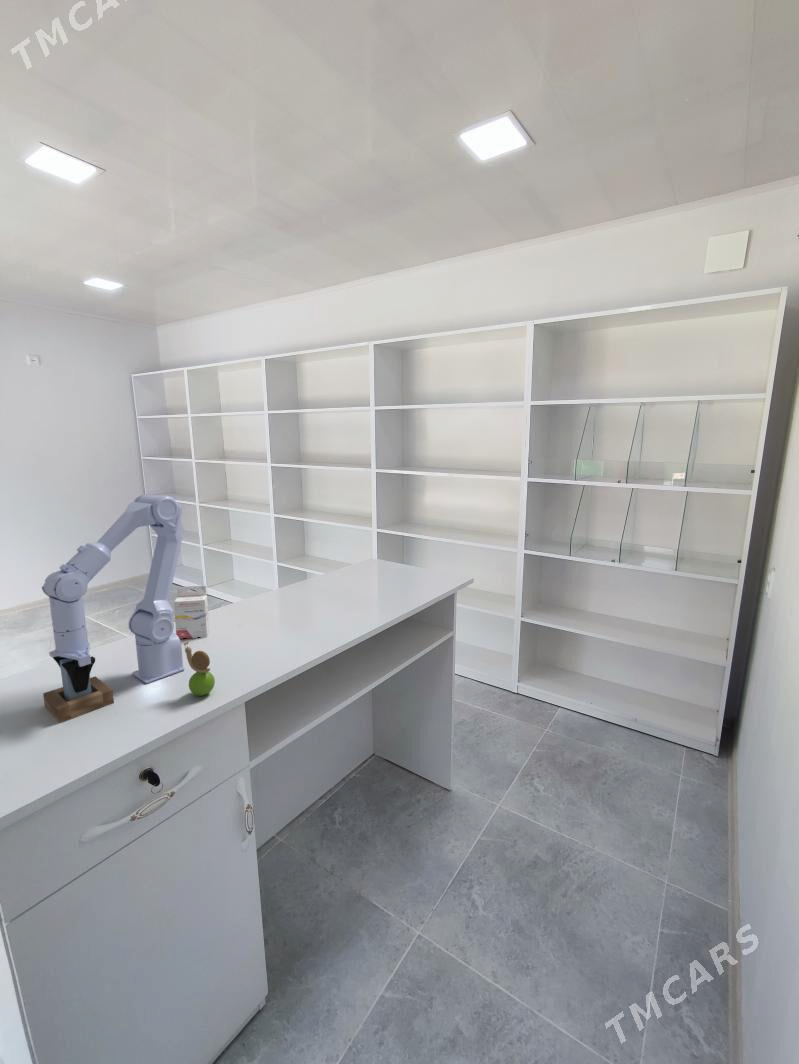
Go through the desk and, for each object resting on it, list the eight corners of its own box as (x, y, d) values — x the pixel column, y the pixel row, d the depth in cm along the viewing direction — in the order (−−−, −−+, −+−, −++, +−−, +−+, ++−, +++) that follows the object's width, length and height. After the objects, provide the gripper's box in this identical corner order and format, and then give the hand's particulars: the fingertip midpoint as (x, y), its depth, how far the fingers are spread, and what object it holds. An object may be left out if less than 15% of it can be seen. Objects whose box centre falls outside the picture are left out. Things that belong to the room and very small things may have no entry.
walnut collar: (96, 688, 109) (95, 676, 109) (114, 702, 103) (112, 690, 103) (44, 706, 102) (43, 693, 101) (60, 722, 96) (58, 709, 95)
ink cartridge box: (176, 640, 137) (171, 591, 135) (179, 634, 142) (175, 586, 139) (207, 637, 139) (204, 589, 137) (210, 631, 144) (206, 584, 141)
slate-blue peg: (85, 692, 105) (81, 654, 103) (92, 698, 103) (87, 659, 101) (64, 699, 102) (59, 660, 100) (71, 705, 99) (65, 665, 98)
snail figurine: (197, 686, 111) (193, 637, 108) (220, 690, 109) (217, 640, 107) (180, 697, 105) (176, 646, 103) (204, 702, 104) (200, 650, 102)
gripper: (36, 624, 101) (44, 683, 103) (58, 642, 92) (67, 706, 94) (74, 616, 106) (81, 672, 109) (99, 631, 97) (106, 692, 100)
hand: (77, 687), depth 102 cm, fingers closed on slate-blue peg, 4 cm apart
